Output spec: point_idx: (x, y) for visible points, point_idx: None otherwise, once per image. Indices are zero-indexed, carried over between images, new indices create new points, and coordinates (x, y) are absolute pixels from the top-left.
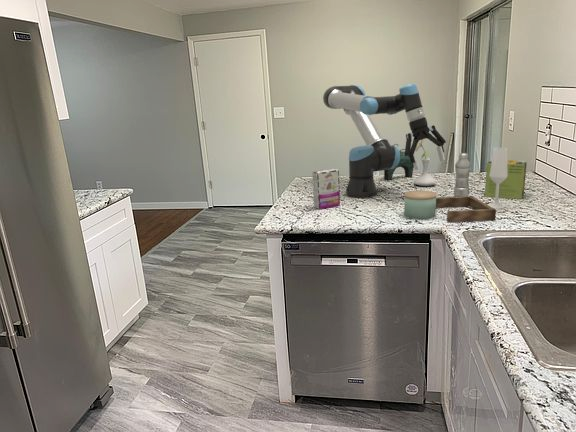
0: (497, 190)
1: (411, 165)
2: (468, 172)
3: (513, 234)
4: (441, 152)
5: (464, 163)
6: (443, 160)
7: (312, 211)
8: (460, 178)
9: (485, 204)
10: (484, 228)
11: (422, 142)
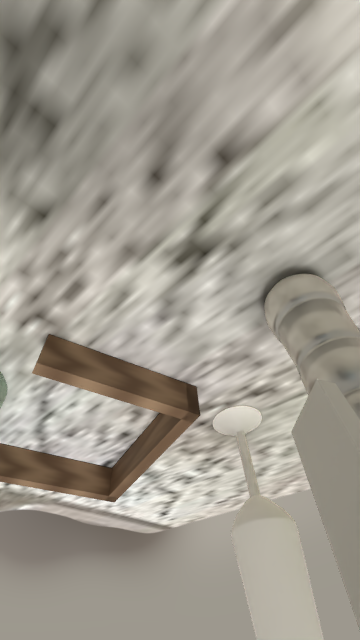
0: (245, 474)
1: None
2: None
3: (71, 516)
4: (320, 514)
5: None
6: (294, 425)
7: None
8: (300, 373)
9: (137, 475)
10: (48, 491)
11: None
